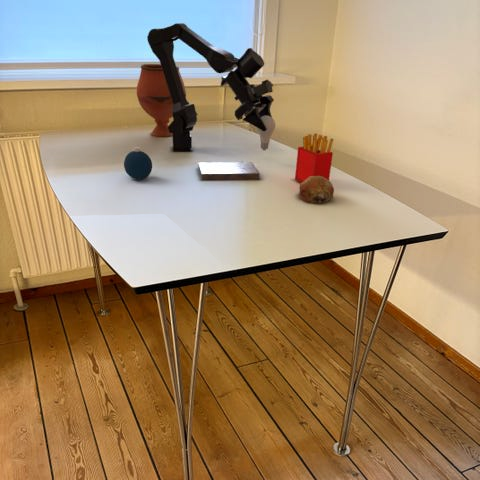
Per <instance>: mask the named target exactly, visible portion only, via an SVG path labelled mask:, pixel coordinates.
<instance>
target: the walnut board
mask: <svg viewBox="0 0 480 480" xmlns="http://www.w3.org/2000/svg"><path fill="white" fill-rule="evenodd" d="M197 167H198V168H197V169H198V172H199V175H200V178H201V179H200V180H201V181H254V180H255V181H256V180H260V172H259V171H258V169H257V168H256V166H255V164H254V163H253V162H198V163H197Z"/></svg>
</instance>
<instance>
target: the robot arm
mask: <svg viewBox="0 0 480 480" xmlns="http://www.w3.org/2000/svg"><path fill="white" fill-rule="evenodd" d="M146 38H147V39H146V40H147V43H148V45H149V48H150V50H151V52H152V53H153V54H154V56H155V57H156V58H157V59H158V60H159V63H160V65H161V67H162V70H163V73H164V76H165V80H166V83H167V86H168V89H169V92H170V95H171V98H172V102H173V111H172V115H173V117H172V121H171V122H170V123H169V125H168V130H169V133H172V136H171V138H172V145H171V148H172V152H192V149H193V138H192V137H193V136H192V135H191V132H192V131H193V130H194V127H195V126H196V124H197V122H198V117H197V116H198V112H197V110H196V106H195V104H194V103H189V101H188V99H187V96H186V97H185V94H184V90H183V87H182V84H181V81H180V77H179V74H178V71H177V68H176V67H177V64H176V61H175V58H174V49H175V45H174V42H177V41H181V42H183V43H184V44H185V45H187V46H188V47H189V48H191V49H192V50H194V51H195V52H196V53H197V54H199V55H200V56H201V57H203V58H204V59H205V60H206V62H207V64H208V66H209V67H210V68H212V70H214V72H215V73H217V74H225V73H227V74H226V76H225V75H223V76H221V77H220V78H221V82H220V86H221V87H224V86H228V87H229V88H230V89H231V92H232V93H233V94H234V95H235V96H234V100H235V101H239V103H240V104H239V106H238V107H237V108H236V109H235V110H234V117H235V119H236V120H237V121H241V120H242V122H245V123H248V124H250V125H251V126H253V127H255V128H256V129H257V128H259V129H261V130H262V131H266V130H267V129H266V127H265V125H264V123H263V121H262V119H261V117H262V116H270V117H272V118H273V116H272V113H271V106H272V103H273V102H275V99H274V98H273V96H272V95H270V94H269V93H273V92H274V90H273V87H274V84H273V83H272V81H270V80H269V79H265V80H262V81H261V83H260V84H258V85H255V84H254V83H251V84H250V83H249V81H248V80H247V79H253V77H255V76H256V74H257V73H258V72H259V71H260V70H261V69H262V68H263V67H264V66H265V61H264V59H263V57H262V56H261V55H260V54H259V53H258V52H256V51H255V50H253V48H252V47H249V48H247V49H246V50H245V52H244V53H243V54H242V56H240V58H239V57H236V56H235V55H234V53H232V52H230V51H227V50H225V49H224V48H220V47H217V46H215V45H213V44H212V43H210V42H209V41H207V40H206V39H205V38H204V37H202V36H201V35H200V34H198V33H197V32H195V31H194V30H193V29H192V28H190V27H188V26H187V24H185V22H184V23H183V22H180V23H174V24H172V25H169V26H166V27H162V28H151V29H150V30H149V31H148V34H147V36H146Z"/></svg>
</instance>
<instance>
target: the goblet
mask: <svg viewBox="0 0 480 480" xmlns="http://www.w3.org/2000/svg"><path fill="white" fill-rule="evenodd" d="M176 68H177V71H178V74H179V77H180V81H181V84H182V87H183V90H184V94H185V97H186V98H187V90H186V86H185V82H184V80H183V77H182V75H181V72H180V67H179V66H176ZM136 97H137V100H138V103H139V105H140V107H141V108H142V110H143V111H144V112H145V113H146V114H147V115H148V116H149V117H151V118H153V119H154V123H155V124H156V125H155V127H154V128H153V129H152V132H151V134H152V135H153V136H155V137H172V133H169V130H168V126H169V125H168V124H170V119H173V115H172V111H173V102H172V98H171V95H170V92H169V89H168V86H167V83H166V80H165V76H164V73H163V70H162V67H161V64H159V63H144V64H141V65H140V73H139V78H138V82H137V86H136Z"/></svg>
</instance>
